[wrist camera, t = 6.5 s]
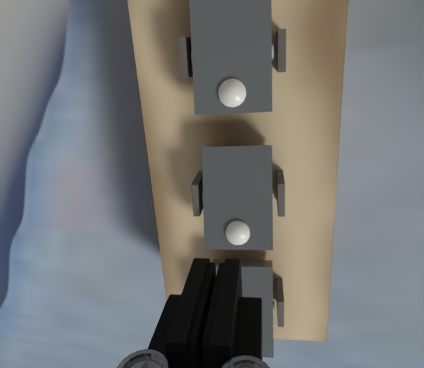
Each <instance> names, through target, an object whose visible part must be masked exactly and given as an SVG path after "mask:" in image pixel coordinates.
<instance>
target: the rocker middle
mask: <svg viewBox="0 0 424 368" xmlns="http://www.w3.org/2000/svg"><path fill="white" fill-rule="evenodd" d="M202 174H203V193H202V201H203V214H204V249H228V250H273V204H274V189H272V145H258V146H222V147H202Z"/></svg>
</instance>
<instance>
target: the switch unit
mask: <svg viewBox="0 0 424 368" xmlns="http://www.w3.org/2000/svg"><path fill="white" fill-rule="evenodd" d="M127 1H128V9H129V17H130V24H131V32H132V40H133V47H134V55H135V62H136V70H137V78H138V85H139V93H140V101H141V108H142V116H143V124H144V131H145V139H146V146H147V154H148V162H149V169H150V177H151V185H152V192H153V200H154V208H155V215H156V223H157V230H158V238H159V246H160V253H161V261H162V269H163V276H164V284H165V292H166V299H168V297H169V295H170V294H182V291H183V288H184V285H185V282H186V279H187V276H188V273H189V271H190V268H191V265H192V262H193V259H194V258H209V259H210V262H213V260H214V259H241V260H272V266H273V301H274V309H275V315H273V339H291V340H309V341H327V335H328V319H329V302H330V286H331V270H332V254H333V237H334V221H335V205H336V188H337V172H338V156H339V139H340V123H341V107H342V90H343V74H344V58H345V42H346V25H347V9H348V0H271V7H272V42H274V61H272V112H257V113H233V114H209V115H195V109H194V89H193V68H192V60H191V49H192V48H191V27H190V7H189V0H127ZM258 145H272V189H274V204H273V250H228V249H204V214H203V201H202V193H203V174H202V147H222V146H258Z"/></svg>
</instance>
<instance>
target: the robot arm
mask: <svg viewBox="0 0 424 368" xmlns="http://www.w3.org/2000/svg"><path fill="white" fill-rule="evenodd" d="M117 368H270V367H269V366H268V365H267V364H266V363H265V362H264V361H262V298H259V297H242V273H241V259H225V262H224V263H219V266H218V271H217V275H216V264H215V263H213V262H210V259H209V258H194V259H193V262H192V265H191V268H190V271H189V273H188V276H187V279H186V282H185V285H184V288H183V291H182V294H170V295H169V297H168V299H167V301H166V304H165V307H164V309H163V312H162V314H161V317H160V319H159V322H158V324H157V327H156V329H155V332H154V334H153V337H152V339H151V342H150V344H149V347H148V349H145V350H139V351H136V352H134V353H132V354H130V355H128V356H127V357H126V358H124V359H123V360H122V362H121V363H120V364H119V365H118V367H117Z"/></svg>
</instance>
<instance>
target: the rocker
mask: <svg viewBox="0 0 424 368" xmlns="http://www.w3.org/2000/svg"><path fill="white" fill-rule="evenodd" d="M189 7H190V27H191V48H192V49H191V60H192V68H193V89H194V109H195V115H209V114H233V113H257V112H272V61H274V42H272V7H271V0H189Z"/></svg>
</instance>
